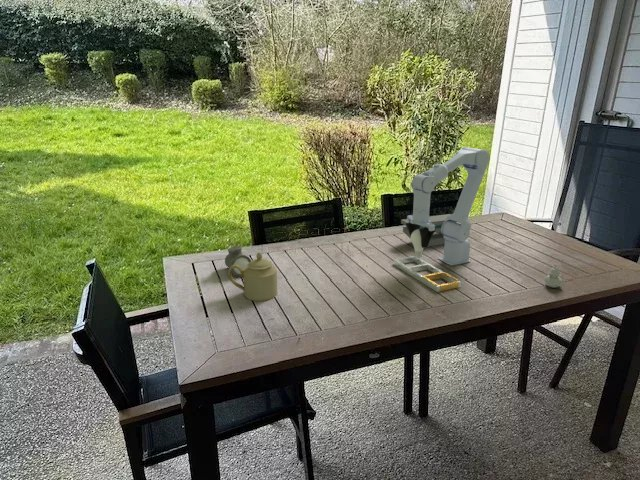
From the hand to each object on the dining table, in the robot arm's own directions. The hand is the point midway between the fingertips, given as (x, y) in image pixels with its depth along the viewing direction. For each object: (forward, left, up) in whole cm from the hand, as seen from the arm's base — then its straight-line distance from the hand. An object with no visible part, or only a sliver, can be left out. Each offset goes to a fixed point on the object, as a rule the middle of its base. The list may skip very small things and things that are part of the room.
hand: (419, 244), depth 163 cm
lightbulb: (0, 0, -6) cm, 6 cm away
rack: (0, +5, -10) cm, 11 cm away
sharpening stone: (-23, -24, -11) cm, 35 cm away
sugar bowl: (+61, -4, -11) cm, 62 cm away
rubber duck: (-34, +31, -11) cm, 47 cm away
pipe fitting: (+62, -27, -11) cm, 69 cm away
